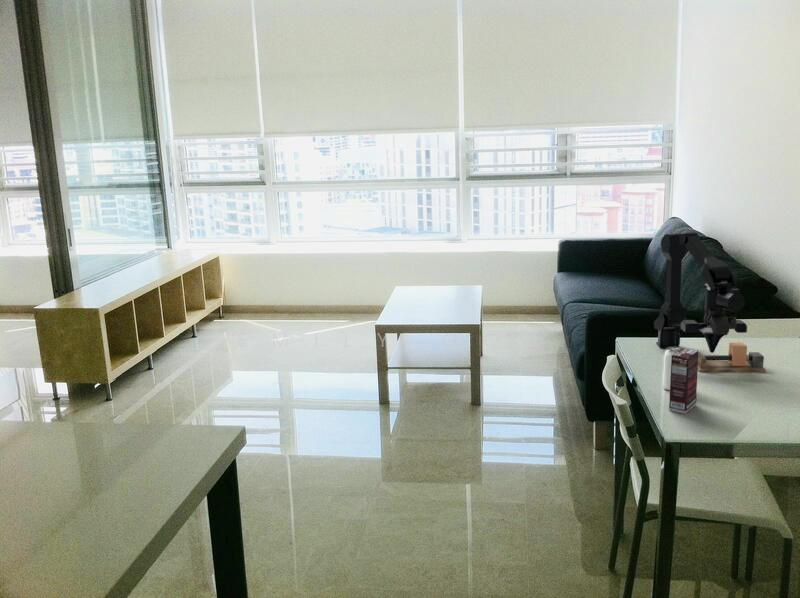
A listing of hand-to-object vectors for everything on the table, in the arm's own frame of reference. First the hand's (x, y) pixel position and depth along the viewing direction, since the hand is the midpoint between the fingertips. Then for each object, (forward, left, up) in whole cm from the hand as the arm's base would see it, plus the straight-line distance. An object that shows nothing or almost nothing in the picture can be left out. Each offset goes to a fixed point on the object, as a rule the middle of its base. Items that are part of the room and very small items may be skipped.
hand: (711, 352), depth 238 cm
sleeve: (+8, 0, -4) cm, 9 cm away
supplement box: (-18, -36, -5) cm, 41 cm away
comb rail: (+5, 0, -5) cm, 7 cm away
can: (-16, -20, -5) cm, 26 cm away
